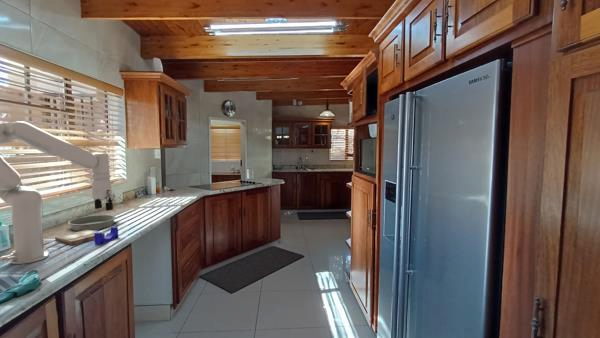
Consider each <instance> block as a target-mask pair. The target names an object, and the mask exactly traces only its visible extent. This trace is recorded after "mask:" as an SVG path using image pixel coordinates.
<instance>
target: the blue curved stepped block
mask: <svg viewBox="0 0 600 338" xmlns="http://www.w3.org/2000/svg"><path fill="white" fill-rule="evenodd" d="M99 232H100V231H97V232H96V233H94V237H95V240H94V245H97V246H98V245H99V246H101V245H103V244H105V243H106V244H107V243H108V242H111V241H113V240H116V239H119V227H118V226H112V227H111V226H110V231H109V232H107V233H105V234H106V235H105V237H103V235H102V233H103V232H101V233H99Z"/></svg>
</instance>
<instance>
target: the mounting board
mask: <svg viewBox="0 0 600 338" xmlns="http://www.w3.org/2000/svg"><path fill="white" fill-rule="evenodd" d="M96 232H99V233H102V235H103V237H105V236H106V235H105V234H106V233H105V232H100V231H97V230H84V231H76V232H72V233H68V234H63V235H59V236H55V238H54V239H55V240H54V241H55V242H57V241H58V243H62V244H66V245H69V246H76V245H79V244H83V243H86V242H91V241H95V237H94V233H96Z"/></svg>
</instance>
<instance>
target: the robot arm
mask: <svg viewBox="0 0 600 338" xmlns="http://www.w3.org/2000/svg"><path fill="white" fill-rule="evenodd" d="M15 142H19V143H22V144H24V145H26V146H29V147H30V148H33V149H35V150H37V151H40V152H41V153H44V154H46V155H49V156H53V157H58V158H61V159H64V160H67V161H69V162H70V163H71V165H73V167H75V168H77V169H86V170H89V169H91V171H92V173H91V174H92V183H91V184H92V185H91V193H92V194H91V195H92V198H93V202H94V209H95V210H99V209H102V208H103V203H102V200H104V201H105V211H106V212H108V211H112V210H114V206H113V203H114V197H115V195H114V193H113V189H112V184H111V174H110V173H111V172H110V161H109V160H110V159H109V154H108V153H106V152H93V153H91V152H89V151H88V150H86V149H84V148H82V147H80V146H78V145H75V144H74V143H70V142H69V141H67V140H64V139H62V138H59V137H57V136H55V135H53V134H51V133H49V132H47V131H45V130H43V129H41V128H39V127H37V126H35V125H33V124H31V123H29V122H26V121H22V120H21V121H19V120H18V121H13V122H7V123H6V122H4V123H0V145H1V144H2V145H3V144H8V143H9V144H10V143H15ZM21 180H22V178H21V175H20V173H18V171H16V170H15V169H14V168H13V167H12V166H11V165H10V164H9V163H8V162H7V161H6V160H5V159H4V158H3V157H2V155H0V199H1V200H2V201H3V202H4V203H6V204H7V205H8V206H9V207H12V211H11V212H12V213H11V220H12V222H11V223H12V232H13V233H12V234H13V244H14V246H13V247H14V250H12V251H11V253H9V254H7V255H3V256H0V262H5V261H7V262H9V261H10V263H11V264H13V265H23V264H24V265H25V264H31V263H35V262H39V261H42V260H44V259H47V258H48V257H49V256H50V253H49V252H48V251H45V243H44V232H43V231H44V229H43V218H42V215H43V214H42V209H43V208H42V207H43V198H42V195H41V193H40V192H39V191H38V190H36V189H35V188H31V187H27V186H26V184H24V182H23V181H21Z"/></svg>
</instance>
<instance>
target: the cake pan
mask: <svg viewBox="0 0 600 338" xmlns="http://www.w3.org/2000/svg"><path fill="white" fill-rule="evenodd" d="M116 218H117V217H116V215H112V214H95V215H87V216H83V217H82V216H81V217H77V218H73V219H71V220H69V221H68V222H67V223H68V225H70V227H71V228H70V229H71V230H72V231H76V232H80V231H84V230H92V231H96V230H99V229H104V228H107V227H111V226H112V225H114V221H115V219H116Z"/></svg>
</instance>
